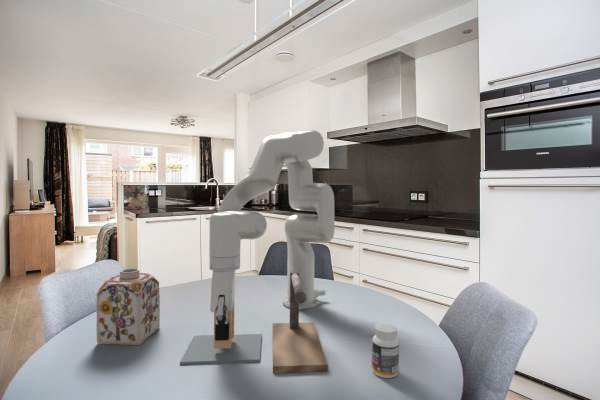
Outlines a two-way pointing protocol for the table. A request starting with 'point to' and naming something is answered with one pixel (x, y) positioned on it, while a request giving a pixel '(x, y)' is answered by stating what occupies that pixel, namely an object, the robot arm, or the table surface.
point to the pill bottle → (385, 351)
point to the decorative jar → (128, 308)
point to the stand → (297, 338)
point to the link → (231, 330)
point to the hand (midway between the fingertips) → (224, 332)
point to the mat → (223, 350)
